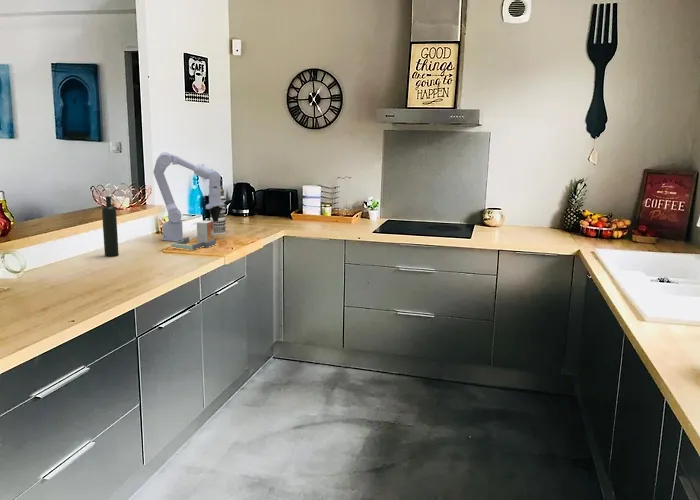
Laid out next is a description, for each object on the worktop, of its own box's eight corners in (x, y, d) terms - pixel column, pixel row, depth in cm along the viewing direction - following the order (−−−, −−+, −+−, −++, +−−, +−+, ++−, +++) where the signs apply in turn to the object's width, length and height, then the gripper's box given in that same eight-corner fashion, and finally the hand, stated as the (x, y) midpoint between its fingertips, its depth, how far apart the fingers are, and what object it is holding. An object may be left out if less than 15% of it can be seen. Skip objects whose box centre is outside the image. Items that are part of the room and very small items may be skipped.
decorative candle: (222, 230, 329) (221, 186, 324) (229, 233, 322) (228, 187, 317) (206, 232, 324) (205, 186, 319) (212, 235, 317) (211, 188, 312)
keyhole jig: (166, 248, 282) (166, 243, 281) (187, 241, 297) (187, 237, 297) (196, 251, 277) (196, 246, 276) (215, 244, 292) (215, 239, 292)
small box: (207, 243, 294) (206, 223, 292) (197, 243, 295) (196, 222, 293) (214, 240, 302) (213, 220, 300) (204, 240, 303) (203, 219, 301)
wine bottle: (105, 257, 260) (101, 189, 254) (104, 254, 265) (99, 187, 259) (119, 256, 263) (115, 189, 257) (117, 253, 268) (113, 187, 262)
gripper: (214, 197, 295) (214, 223, 297) (229, 193, 308) (229, 219, 311) (201, 196, 297) (202, 222, 300) (217, 193, 310) (217, 218, 313)
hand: (215, 221), depth 305 cm, fingers closed
